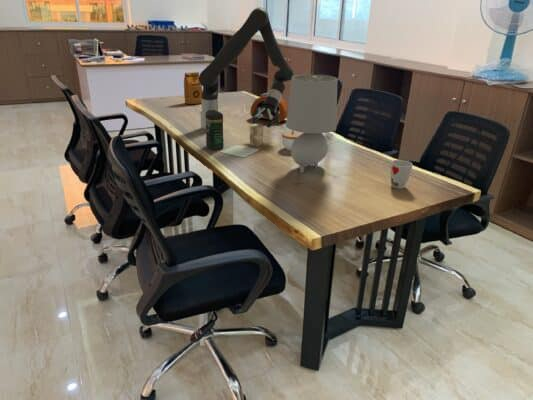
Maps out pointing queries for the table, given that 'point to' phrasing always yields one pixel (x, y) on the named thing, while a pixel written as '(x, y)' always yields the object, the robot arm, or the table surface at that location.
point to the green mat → (239, 151)
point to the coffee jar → (214, 129)
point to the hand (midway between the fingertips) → (261, 125)
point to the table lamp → (311, 116)
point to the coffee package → (192, 88)
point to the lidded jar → (289, 138)
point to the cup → (400, 173)
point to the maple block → (256, 134)
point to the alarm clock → (281, 107)
